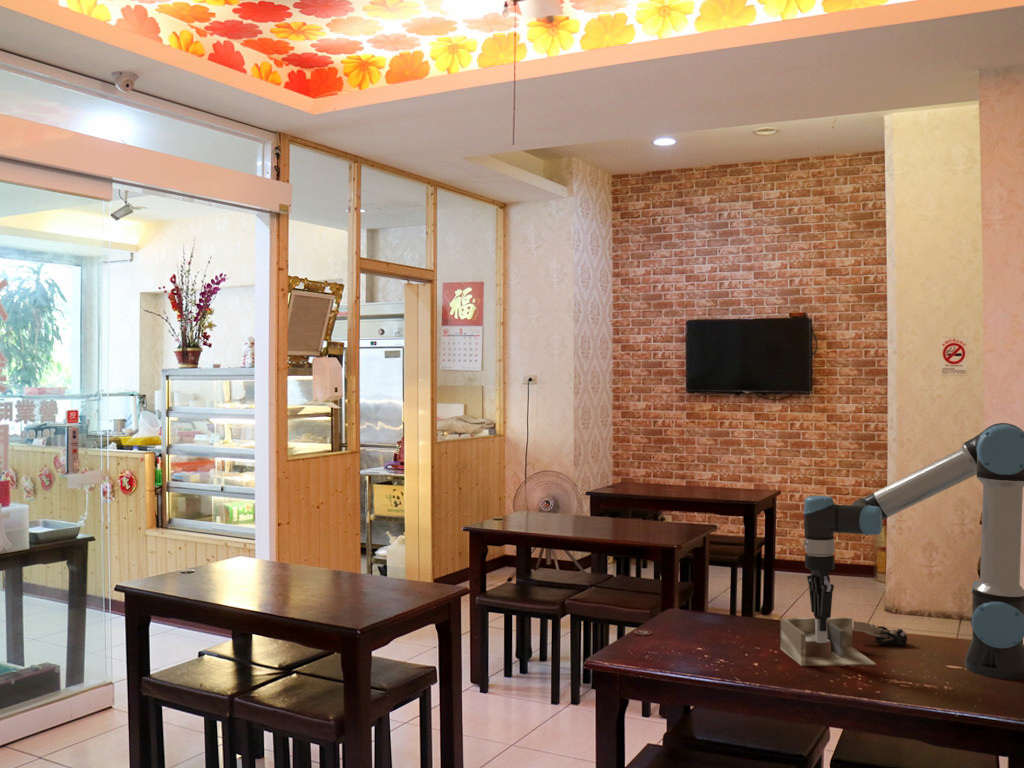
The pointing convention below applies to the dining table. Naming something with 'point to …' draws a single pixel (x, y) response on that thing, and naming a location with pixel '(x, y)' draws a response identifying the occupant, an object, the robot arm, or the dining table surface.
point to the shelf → (836, 633)
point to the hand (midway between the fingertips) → (821, 642)
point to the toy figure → (881, 633)
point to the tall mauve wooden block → (817, 647)
